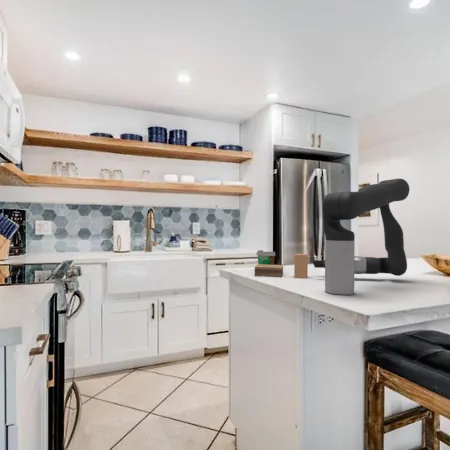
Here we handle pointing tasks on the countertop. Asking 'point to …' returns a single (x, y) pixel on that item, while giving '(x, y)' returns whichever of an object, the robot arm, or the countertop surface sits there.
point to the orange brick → (301, 266)
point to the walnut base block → (269, 270)
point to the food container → (265, 257)
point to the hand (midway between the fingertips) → (313, 263)
